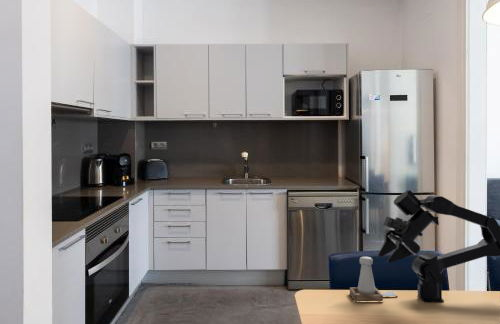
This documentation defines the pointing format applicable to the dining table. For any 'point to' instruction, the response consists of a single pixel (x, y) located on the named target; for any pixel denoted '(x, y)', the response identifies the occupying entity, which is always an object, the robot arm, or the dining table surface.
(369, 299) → the walnut socket
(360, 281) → the salt shaker
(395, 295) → the grey rectangular slab
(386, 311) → the dining table surface
